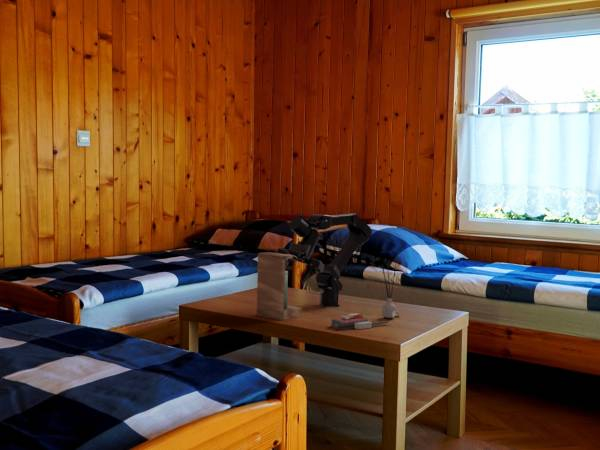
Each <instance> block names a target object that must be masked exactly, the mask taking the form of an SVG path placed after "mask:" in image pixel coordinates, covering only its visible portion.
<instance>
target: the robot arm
mask: <svg viewBox="0 0 600 450" xmlns="http://www.w3.org/2000/svg"><path fill="white" fill-rule="evenodd" d="M338 225H339V226H340V225H341V226H342V225H346V229H347V230H348V231H349V232H348V239H347V240H346V241H345V243H344V245H342V247H341V248H340V249H339V251H338V252H337V253H336V255H335V256H334V257H333V260H332V261H331V262H330V263H329V264H324V263H323V261H321V260H320V259H317V258H314V257H312V258H311V259H310V257H311V256H312V254H314V253H315V247H316V245H317V244H318V241H319V240H324V235H323V232H321V231H318V230H322V231H324V230H325V231H326V230H328V229H330V228H331V227H333V226H338ZM288 228H289V230H290V231H291V232H293V233H294V234H295V235H296V236H298V237H299V238H301V240H299V241H298V242H297V243H296V242H290V247H289V249H287V248H284V247H279V248H277V249H276V251H275V253H279V254H287V255H293V258H290V259H285V270H286V269H287V268H288V265H289V264H290V261H291V260H292V261H295V262H298V263H301V264H305V265H307V266H306V270H305V272H304V274H303V275H302V277H301V279H300V284H301V285H303V284H305V282H307V281H308V280H309V279H310V278H311V277H313V276H315V279H316V280H315V281H316V284H317V289H320V293H319V304H320V305H321V306H323V307H339V306H340V305H341V304H339V292H341V291H342V290H343V285H344V284H342V282H341V281H340V278H341V270H342V269H343V268H344V267H345V265H346V264H347V262H348V261H349V260H350V258H351V257H352V255H353V254H354V253H355V251H356V250H357V249H358V248H359V246H361V245H363V244H365V243H366V242H368V241H369V240H370V238H371V237H372V235H373V233H372V232H373V231H372V228H371V226H369V224H368V223H367V222H366V221H364V220H363V219H362V218H360V216H359V215H358V214H357V213H352V212H347V213H342V214H334V215H331V214H330V215H328V214H318V213H316V214H315V213H312V214H310V215H309V217H308V218H305V217H304V215H303V214H297V215H296V217H294V218H293V219H291V221H290V222H289V224H288ZM292 253H293V254H292Z"/></svg>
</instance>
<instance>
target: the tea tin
mask: <svg viewBox="0 0 600 450" xmlns="http://www.w3.org/2000/svg"><path fill="white" fill-rule="evenodd" d="M288 276H289V271H288V270H285V280H284V308H287V305H288V292H289V289H288V287H289V286H288V283H289V282H288V279H289V277H288Z"/></svg>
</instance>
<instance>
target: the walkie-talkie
mask: <svg viewBox="0 0 600 450" xmlns="http://www.w3.org/2000/svg"><path fill="white" fill-rule="evenodd" d="M385 324H389V322H388V320H382V321H375V322H372V321H369V319H368V318H365V317H363V314H361V313H357V312H355V313H349V314H347V315H346V316H345V315H341V317H339V318H332V319H331V327H332V328H335V329H337V330H341V331H344V330H345V331H346V330H351V329H354V328H355V330H365V329H372V327H373V326H379V325H385Z"/></svg>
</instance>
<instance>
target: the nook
mask: <svg viewBox="0 0 600 450" xmlns="http://www.w3.org/2000/svg"><path fill="white" fill-rule="evenodd" d="M293 255H294V254H293ZM293 255H287V254H279V253H276V252H271V251H266V252H258V253H257V281H256V282H257V283H256V284H257V286H256V289H257V291H256V294H257V295H256V316H260V317H264V318H268V319H273V320H278V321H284V320H290V319H294V318H298V317H302V316H303V307H300V306H295V305H290V304H287V308H284V280H285V271H286V269H285V259H290V258H293ZM290 260H291V259H290Z"/></svg>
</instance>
